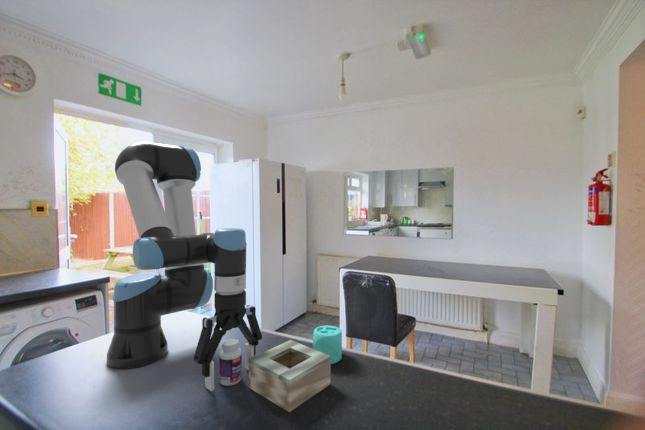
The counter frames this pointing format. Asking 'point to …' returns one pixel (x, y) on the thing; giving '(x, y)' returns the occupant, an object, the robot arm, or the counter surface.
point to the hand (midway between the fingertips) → (230, 378)
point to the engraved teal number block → (328, 341)
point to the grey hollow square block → (289, 374)
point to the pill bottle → (230, 363)
